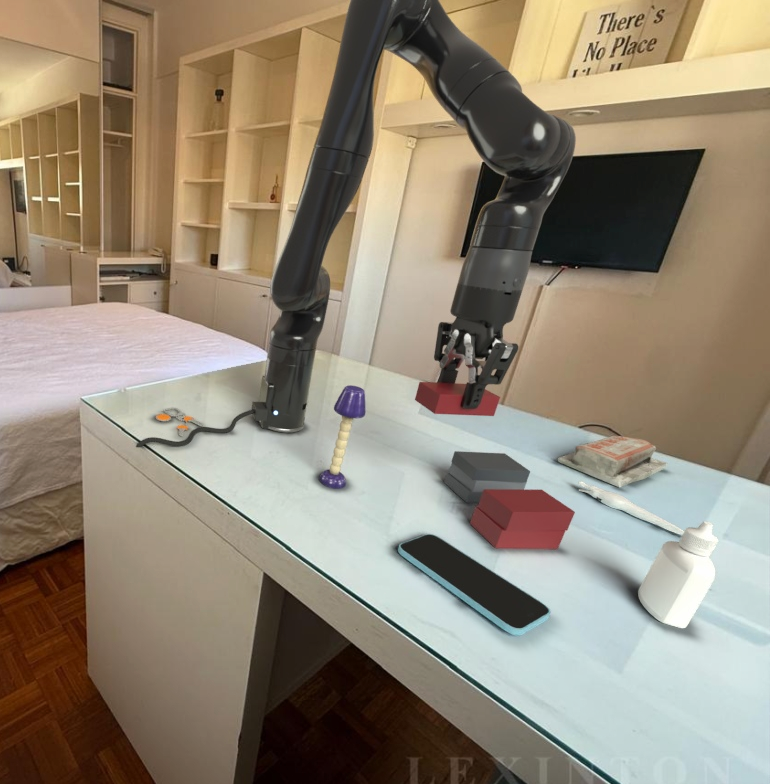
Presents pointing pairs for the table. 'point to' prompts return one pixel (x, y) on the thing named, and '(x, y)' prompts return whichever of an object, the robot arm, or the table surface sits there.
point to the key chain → (182, 427)
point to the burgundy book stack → (521, 519)
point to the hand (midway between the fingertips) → (455, 399)
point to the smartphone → (475, 584)
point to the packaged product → (615, 460)
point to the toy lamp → (344, 432)
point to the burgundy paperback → (453, 399)
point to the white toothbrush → (628, 507)
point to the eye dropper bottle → (680, 577)
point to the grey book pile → (484, 474)
